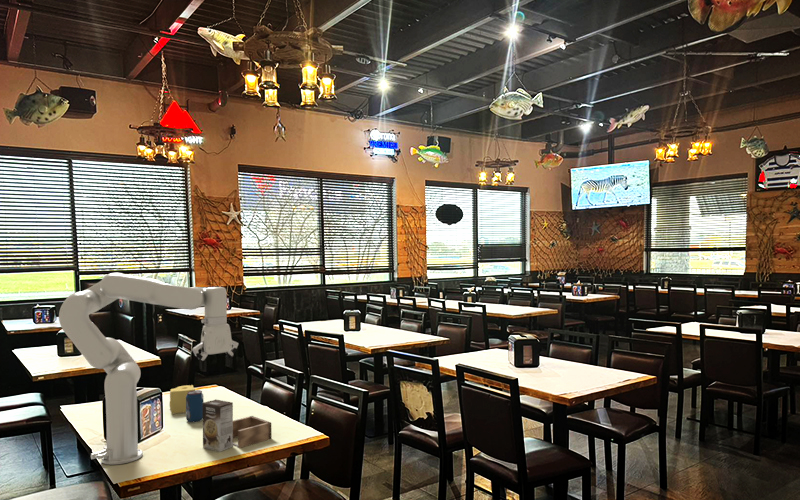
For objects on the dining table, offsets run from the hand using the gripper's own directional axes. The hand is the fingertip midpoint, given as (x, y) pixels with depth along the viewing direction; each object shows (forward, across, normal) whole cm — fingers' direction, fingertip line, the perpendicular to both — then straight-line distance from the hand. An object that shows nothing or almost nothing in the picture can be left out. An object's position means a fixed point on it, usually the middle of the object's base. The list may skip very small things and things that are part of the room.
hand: (216, 368), depth 196 cm
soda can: (+28, +10, +38) cm, 48 cm away
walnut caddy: (+28, +12, 0) cm, 30 cm away
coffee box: (+28, 0, 0) cm, 28 cm away
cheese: (+28, +14, +58) cm, 66 cm away
